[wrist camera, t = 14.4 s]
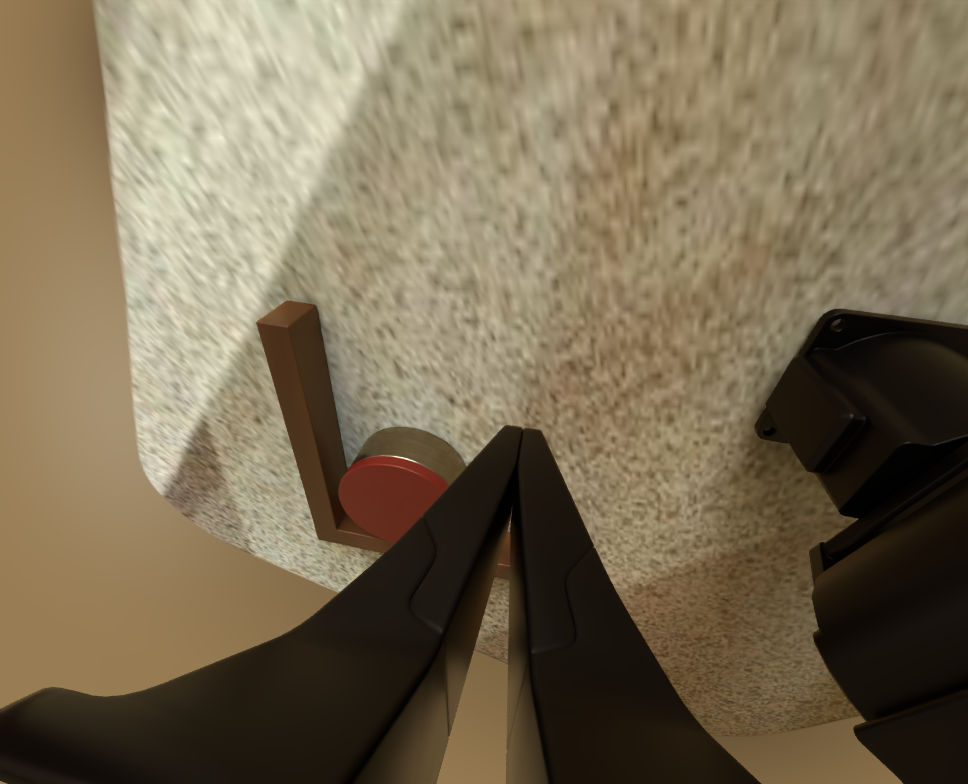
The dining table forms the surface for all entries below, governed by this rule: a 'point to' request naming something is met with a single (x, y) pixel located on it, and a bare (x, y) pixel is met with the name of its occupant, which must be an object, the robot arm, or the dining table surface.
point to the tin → (397, 480)
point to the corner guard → (318, 423)
